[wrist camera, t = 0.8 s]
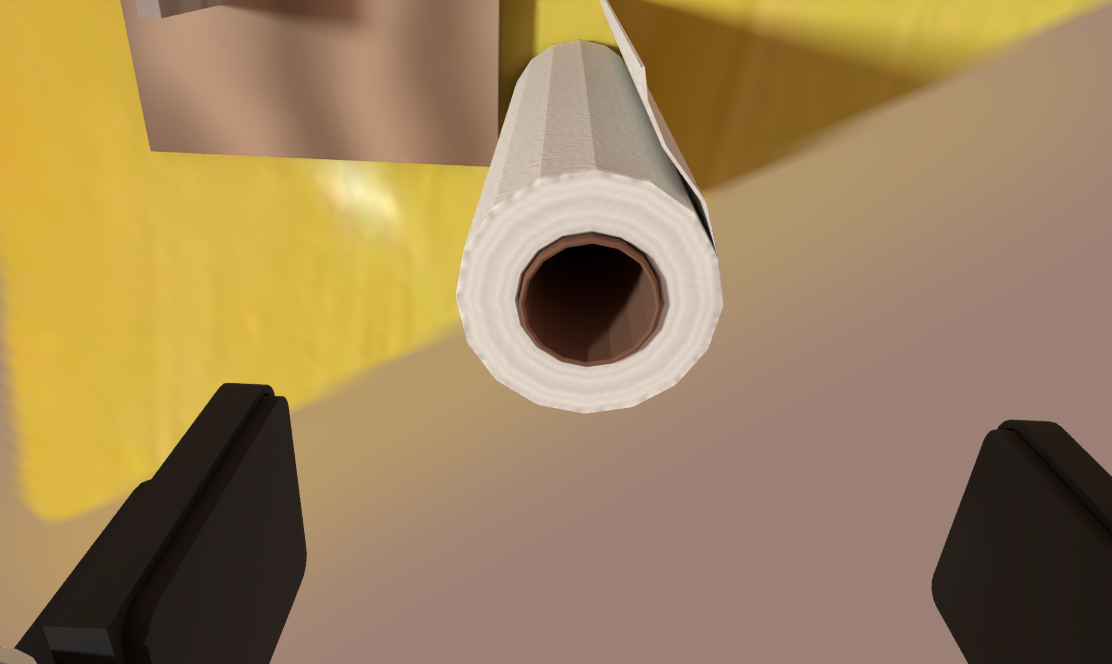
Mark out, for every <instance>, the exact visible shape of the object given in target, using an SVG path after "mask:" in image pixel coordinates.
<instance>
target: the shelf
mask: <svg viewBox="0 0 1112 664" xmlns="http://www.w3.org/2000/svg"><path fill="white" fill-rule="evenodd" d="M121 5H122V10H123V15H124V20H125V25H126V30H127V35H128V40H129V45H130V50H131V55H132V60H133V65H134V70H135V75H136V80H137V85H138V90H139V95H140V100H141V105H142V110H143V115H144V120H145V125H146V130H147V135H148V140H149V145H150V150H151V151H158V152H179V153H201V154H223V155H245V156H267V157H289V158H311V159H332V160H354V161H376V162H398V163H420V164H442V165H463V166H485V167H490V165H491V162H492V159H493V156H494V152H495V149H496V146H497V143H498V140H499V137H500V78H501V0H121Z"/></svg>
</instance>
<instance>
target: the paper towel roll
mask: <svg viewBox="0 0 1112 664" xmlns="http://www.w3.org/2000/svg"><path fill="white" fill-rule="evenodd" d="M601 6H602V9H603V11H604V14H605V16H606V19H607V21H608V24H609V26H610V29H611V31H612V33H613V35H614V38H615V40H616V42H617V45H618V47H619V49H620V51H621V54H622V56H623V58H624V59H623V58H622V57H620V56H619V55H618V54H616V53H615V52H614V51H612V50H611V49H610V48H608V47H607V46H605V45H601V44H597V43H593V42H589V41H584V40H574V41H569V42H564V43H558V44H554V45H552V46H551V47H549V48H548V49H546V50H545V51H543V52H542V53H540V54H539V55H537V56H536V57H534V58H533V59H531V61H530V62H529V64H528V65H527V67H526V69H525V70H524V72H523V73H522V75H521V76H520V78H519V79H518V81H517V83H516V86H515V89H514V92H513V96H512V99H511V102H510V105H509V108H508V111H507V115H506V118H505V121H504V124H503V127H502V130H501V134H500V137H499V140H498V143H497V146H496V149H495V152H494V156H493V159H492V162H491V165H490V168H489V171H488V175H487V178H486V181H485V184H484V187H483V190H482V193H481V197H480V200H479V203H478V206H477V209H476V212H475V216H474V219H473V222H472V225H471V228H470V231H469V235H468V238H467V241H466V244H465V247H464V252H463V257H462V263H461V268H460V274H459V280H458V285H457V291H456V300H457V304H458V308H459V312H460V315H461V319H462V323H463V327H464V331H465V335H466V339H467V342H468V344H469V345H470V346H471V348H472V349H473V351H474V352H475V353H476V354H477V356H478V357H479V358H480V359H481V361H482V362H483V363H484V365H485V366H486V367H487V369H488V370H489V371H490V372H491V374H492V375H493V376H494V377H495V379H496V380H497V381H499V382H501V383H502V384H504V385H506V386H508V387H509V388H511V389H512V390H514V391H516V392H517V393H519V394H521V395H522V396H524V397H526V398H527V399H529V400H531V401H533V402H535V403H536V404H539V405H543V406H549V407H554V408H559V409H565V410H570V411H574V412H580V413H591V412H599V411H606V410H612V409H619V408H626V407H633V406H635V405H637V404H639V403H641V402H643V401H645V400H647V399H648V398H650V397H652V396H654V395H656V394H658V393H660V392H662V391H664V390H666V389H668V388H670V387H672V386H674V385H676V384H677V382H678V381H679V380H680V379H681V378H682V377H683V376H684V375H685V374H686V373H687V371H688V370H689V369H690V368H691V367H692V366H693V365H694V364H695V363H696V361H698V359H699V358H700V357H701V356H702V355H703V354H704V353H705V352H706V351H707V349H708V347H709V344H710V341H711V338H712V336H713V333H714V330H715V327H716V324H717V322H718V319H719V316H720V313H721V311H722V308H723V305H724V299H723V291H722V283H721V275H720V266H719V259H718V252H717V248H716V244H715V239H714V235H713V231H712V226H711V222H710V218H709V213H708V209H707V204H706V201H705V199H704V197H703V195H702V193H701V191H700V189H699V187H698V185H697V183H696V181H695V179H694V177H693V175H692V173H691V171H690V169H689V167H688V166H687V164H686V162H685V160H684V158H683V156H682V154H681V152H680V150H679V148H678V146H677V144H676V142H675V140H674V138H673V136H672V134H671V132H670V130H669V128H668V126H667V124H666V122H665V120H664V118H663V116H662V114H661V112H660V110H659V109H658V107H657V105H656V103H655V101H654V99H653V97H652V95H651V93H650V91H649V89H648V87H647V85H646V74H645V66H644V64H643V62H642V61H641V59H640V57H639V55H638V54H637V52H636V50H635V48H634V46H633V45H632V43H631V41H630V39H629V38H628V36H627V34H626V32H625V30H624V29H623V27H622V25H621V23H620V22H619V20H618V18H617V16H616V15H615V13H614V11H613V9H612V7H611V6H610V4H609V2H608V0H601Z"/></svg>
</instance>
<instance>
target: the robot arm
mask: <svg viewBox="0 0 1112 664" xmlns="http://www.w3.org/2000/svg"><path fill="white" fill-rule="evenodd" d="M306 558H307V552H306V542H305V534H304V527H303V518H302V511H301V502H300V494H299V486H298V478H297V470H296V462H295V454H294V446H293V439H292V430H291V422H290V414H289V407H288V402H287V400H286V398H285V397H284V396H275V394H274V391H273V389H272V387H271V386H269V385H262V384H240V383H224V384H223V385H222V386H220V387H219V389H218V390H217V391H216V393H215V394H214V395H213V397H212V398H211V400H210V401H209V402H208V404H207V405H206V406H205V408H204V409H203V410H202V412H201V413H200V414H199V416H198V417H197V418H196V420H195V421H194V422H193V424H192V425H191V427H190V428H189V429H188V431H187V432H186V433H185V435H184V436H183V437H182V439H181V440H180V441H179V443H178V444H177V445H176V447H175V448H174V449H173V451H172V452H171V454H170V455H169V456H168V458H167V459H166V460H165V462H164V463H163V464H162V466H161V467H160V468H159V470H158V471H157V472H156V474H155V475H154V476H153V478H152V479H151V480H147V481H145V482H142V483H141V484H140V485H139V486H138V487H137V488H136V489H135V490H134V491H133V492H132V493H131V495H130V496H129V497H128V499H127V500H126V501H125V503H124V504H123V505H122V507H121V508H120V509H119V510H118V512H117V513H116V515H115V516H114V517H113V518H112V520H111V521H110V522H109V524H108V525H107V526H106V528H105V529H104V530H103V532H102V533H101V534H100V536H99V537H98V538H97V540H96V541H95V542H94V544H93V545H92V546H91V547H90V549H89V550H88V551H87V553H86V554H85V555H84V557H83V558H82V559H81V561H80V562H79V563H78V565H77V566H76V567H75V569H74V570H73V571H72V573H71V574H70V575H69V577H68V578H67V579H66V581H65V582H64V583H63V585H62V586H61V587H60V588H59V590H58V591H57V592H56V594H55V595H54V596H53V598H52V599H51V600H50V602H49V603H48V604H47V606H46V607H45V609H43V611H42V612H41V613H40V615H39V616H38V617H37V619H36V620H35V622H34V623H33V624H32V626H31V627H30V628H29V629H28V631H27V632H26V633H25V635H24V636H23V637H22V639H21V640H20V641H19V642H18V644H17V645H16V646H15V648H14V649H11V648H2V647H0V664H269V663H270V661H271V658H272V655H273V653H274V650H275V648H276V645H277V643H278V640H279V638H280V635H281V633H282V630H283V628H284V625H285V623H286V620H287V618H288V615H289V612H290V610H291V607H292V605H293V602H294V600H295V597H296V595H297V592H298V590H299V587H300V585H301V582H302V579H303V576H304V572H305V567H306ZM932 595H933V599H934V602H935V604H936V607H937V608H938V610H939V612H940V614H941V615H942V617H943V619H944V621H945V623H946V624H947V626H948V628H949V630H950V632H951V633H952V635H953V637H954V639H955V641H956V642H957V644H958V646H959V648H960V650H961V651H962V653H963V655H964V657H965V659H966V660H967V662H968V664H1112V476H1110V475H1109V473H1107V472H1106V471H1105V470H1104V469H1103V468H1102V467H1101V466H1100V465H1099V464H1098V463H1097V462H1096V461H1095V460H1094V459H1093V458H1092V457H1091V456H1090V455H1089V454H1088V453H1087V452H1086V451H1085V450H1084V449H1083V448H1082V447H1081V446H1080V445H1079V444H1078V443H1077V442H1076V441H1075V440H1074V439H1073V438H1072V437H1071V436H1070V435H1069V434H1068V433H1067V432H1066V431H1065V430H1064V429H1063V428H1062V427H1061V426H1059V425H1058V424H1056V423H1054V422H1049V421H1027V420H1007V421H1004V422H1003V423H1002V424H1001V425H1000V426H999V427H998V429H997V430H992V431H990V432H989V433H988V434H987V435H986V437H985V439H984V441H983V444H982V446H981V449H980V452H979V455H978V457H977V460H976V463H975V465H974V468H973V471H972V473H971V476H970V479H969V481H968V484H967V487H966V489H965V492H964V495H963V497H962V500H961V503H960V505H959V508H958V511H957V513H956V516H955V519H954V521H953V524H952V527H951V529H950V532H949V535H948V537H947V540H946V543H945V546H944V548H943V551H942V553H941V556H940V559H939V561H938V564H937V567H936V570H935V572H934V575H933V579H932Z"/></svg>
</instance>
